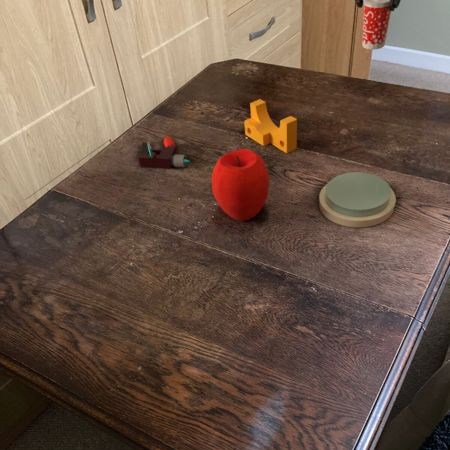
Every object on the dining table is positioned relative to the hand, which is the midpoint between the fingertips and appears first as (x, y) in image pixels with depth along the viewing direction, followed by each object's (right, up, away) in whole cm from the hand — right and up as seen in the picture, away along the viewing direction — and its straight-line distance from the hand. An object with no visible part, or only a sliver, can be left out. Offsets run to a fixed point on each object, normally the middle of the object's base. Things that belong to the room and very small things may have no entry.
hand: (374, 7), depth 98 cm
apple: (-26, -43, -10) cm, 52 cm away
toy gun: (-42, -29, +6) cm, 51 cm away
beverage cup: (+2, -4, +7) cm, 8 cm away
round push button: (-7, -42, -11) cm, 43 cm away
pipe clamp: (-20, -25, +6) cm, 33 cm away
